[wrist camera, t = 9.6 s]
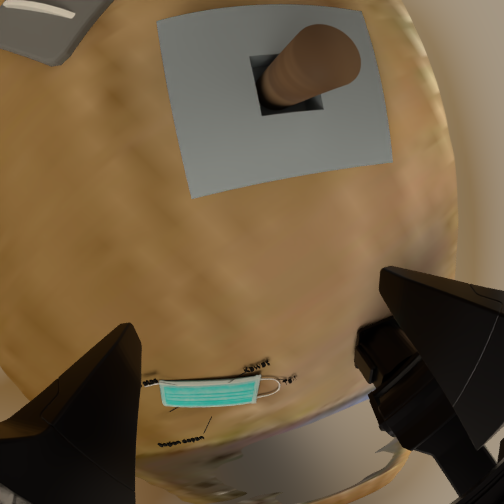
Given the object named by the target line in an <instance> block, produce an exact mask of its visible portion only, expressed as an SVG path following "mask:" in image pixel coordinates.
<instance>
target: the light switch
mask: <svg viewBox="0 0 504 504" xmlns="http://www.w3.org/2000/svg"><path fill="white" fill-rule="evenodd" d="M113 1H114V0H5V1H4V3H3V4H2V5H1V7H0V49H3V50H7V51H10V52H13V53H16V54H19V55H22V56H25V57H27V58H30V59H33V60H36V61H38V62H41V63H44V64H46V65H49V66H51V67H52V66H58V65H62V64H63V63H64V62H65V61H66V60H67V59H68V58H69V57H70V56H71V55H72V53H73V52H74V50H75V49H76V47H77V46H78V44H79V43H80V42H81V40H82V39H83V37H84V36H85V35H86V33H87V32H88V31H89V29H90V28H91V27H92V26H93V24H94V23H95V22H96V21H97V19H98V18H99V17H100V16H101V14H102V13H103V12H104V11H105V10H106V9H107V7H108V6H109V5H110V4H111V3H112V2H113Z"/></svg>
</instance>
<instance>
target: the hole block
mask: <svg viewBox="0 0 504 504" xmlns="http://www.w3.org/2000/svg"><path fill="white" fill-rule="evenodd" d="M314 24H325V25H329V26H332V27H335V28H337V29H339V30H341V31H342V32H344V33H345V34H346V35H347V36H348V37H349V38H350V39H351V40H352V41H353V42H354V44H355V45H356V47H357V49H358V51H359V54H360V58H361V68H360V72H359V74H358V76H357V78H356V79H355V80H354V81H352V82H351V83H349V84H347V85H345V86H342V87H339V88H336V89H333V90H331V91H328V92H325V93H322V94H320V95H317V96H315V97H312V98H309V99H307V100H304V101H302V102H300V103H297V104H295V105H292V106H290V107H288V108H285V109H283V110H270V109H268V108H266V107H264V106H263V105H261V104H260V103H259V100H258V95H257V90H256V86H255V83H256V81H257V80H258V78H259V77H260V76H261V75H262V74H263V72H264V71H265V70H266V69H267V68H268V66H269V65H270V64H271V63H272V62H273V61H274V59H275V58H276V57H277V56H278V55H279V54H280V53H281V51H282V50H283V49H284V48H285V47H286V46H287V45H288V44H289V43H290V42H291V40H292V39H293V38H294V37H295V36H296V35H297V34H298V33H299V32H300V31H301V30H302V29H304V28H305V27H307V26H310V25H314ZM157 28H158V35H159V42H160V48H161V54H162V60H163V66H164V72H165V77H166V83H167V88H168V93H169V98H170V104H171V109H172V114H173V118H174V123H175V128H176V133H177V137H178V142H179V147H180V151H181V156H182V160H183V164H184V169H185V173H186V177H187V181H188V185H189V190H190V194H191V198H192V199H194V198H198V197H202V196H206V195H210V194H214V193H219V192H223V191H227V190H232V189H236V188H241V187H245V186H250V185H255V184H260V183H264V182H269V181H275V180H280V179H285V178H290V177H296V176H301V175H307V174H313V173H319V172H325V171H332V170H338V169H345V168H352V167H359V166H367V165H375V164H383V163H392V162H393V160H392V149H391V140H390V132H389V125H388V118H387V111H386V105H385V100H384V94H383V89H382V84H381V79H380V75H379V70H378V66H377V62H376V58H375V54H374V50H373V47H372V43H371V40H370V36H369V33H368V30H367V27H366V23H365V20H364V17H363V15H362V12H361V11H356V10H349V9H343V8H335V7H325V6H313V5H292V4H269V5H248V6H236V7H227V8H219V9H212V10H205V11H199V12H194V13H189V14H184V15H179V16H175V17H171V18H167V19H163V20H159V21H157Z"/></svg>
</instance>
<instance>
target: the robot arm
mask: <svg viewBox="0 0 504 504" xmlns="http://www.w3.org/2000/svg"><path fill="white" fill-rule="evenodd" d="M379 292H380V294H381V296H382V298H383V299H384V301H385V303H386V304H387V306H388V308H389V309H390V311H391V313H392V315H393V316H391V317H389V318H387V319H384V320H382V321H379V322H377V323H374V324H372V325H369V326H366V327H364V328H361V329H360V330H359V331H358V333H357V345H356V348H355V357H354V362H355V367H356V368H357V369H358V368H359V370H360V371H361V373H362V374H363V376H364V378H365V379H366V381H367V382H368V383H369V384H371V383H373V384H374V386H375V387H376V389H375V390H374V391H373V392H370V393H369V394H368V397H369V399H370V404H371V406H372V408H373V411H374V413H375V416H376V418H377V420H378V424H379V428H380V430H381V431H386V432H387V433H388V434H389V435H390V436H392V437H397V439H398V440H399V442H400V444H401V446H402V447H403V448H406V449H408V450H410V451H413V450H416V451H419V452H422V453H425V454H428V455H431V456H433V458H434V459H435V460H436V462H437V463H438V465H439V466H440V468H441V469H442V471H443V473H444V474H445V476H446V477H447V479H448V480H449V481H450V483H451V485H452V486H453V488H454V489H455V491H456V492H457V494H458V495H459V498H457V499H456V500H455V501H454V502H452V503H451V504H504V438H503V439H502V440H501V441H500V449H499V455H498V462H496V460H495V459H494V457H493V456H492V454H491V453H490V452H489V450H488V449H487V447H486V446H485V445H484V444H485V443H487V442H488V441H489V440H490V439H491V438H492V437H493V436H494V435H495V434H496V433H497V432H498V431H499V430H500V429H501V428H502V427H503V426H504V291H502V290H496V289H491V288H486V287H482V286H477V285H473V284H468V283H464V282H460V281H456V280H452V279H447V278H443V277H439V276H434V275H430V274H426V273H421V272H417V271H412V270H408V269H403V268H399V267H394V266H388V267H384V268H382V269H381V271H380V281H379ZM141 353H142V346H141V341H140V339H139V337H138V335H137V333H136V331H135V328H134V326H133V325H132V324H131V323H123V324H120V325H118V326H117V327H116V328H115V329H114V330H112V331H111V332H110V333H109V334H108V335H107V336H105V337H104V338H103V339H102V340H101V341H100V342H98V343H97V344H96V345H95V346H94V347H93V348H91V349H90V350H89V351H88V352H87V353H86V354H85V355H83V356H82V357H81V358H80V359H79V360H78V361H77V362H75V363H74V364H73V365H72V366H71V367H70V368H69V369H67V370H66V371H65V372H64V373H63V374H62V375H61V376H60V377H59V378H58V379H56V380H55V381H54V382H53V383H52V384H51V385H49V386H48V387H47V388H46V389H45V390H44V391H43V392H41V393H40V394H39V395H38V396H36V397H35V398H34V399H33V400H32V401H30V402H29V403H28V404H26V405H25V406H24V407H23V408H21V409H20V410H19V411H18V412H16V413H15V414H14V415H13V416H11V417H10V418H8V419H7V420H5V421H2V422H0V504H135V492H134V491H135V455H136V435H137V421H138V409H139V398H140V389H141Z"/></svg>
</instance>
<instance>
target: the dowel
mask: <svg viewBox="0 0 504 504" xmlns="http://www.w3.org/2000/svg"><path fill="white" fill-rule="evenodd" d="M360 68H361V58H360V54H359V51H358V49H357V47H356V45H355V44H354V42H353V41H352V40H351V39H350V38H349V37H348V36H347V35H346V34H345V33H344V32H342V31H341V30H339V29H337V28H335V27H332V26H329V25H325V24H314V25H310V26H307V27H305V28H304V29H302V30H301V31H300V32H299V33H298V34H297V35H296V36H295V37H294V38H293V39H292V40H291V42H290V43H289V44H288V45H287V46H286V47H285V48H284V49H283V50H282V51H281V53H280V54H279V55H278V56H277V57H276V58H275V59H274V61H273V62H272V63H271V64H270V65H269V66H268V68H267V69H266V70H265V71H264V72H263V74H262V75H261V76H260V77H259V78H258V80H257V81H256V83H255V86H256V90H257V95H258V100H259V103H260V104H261V105H263V106H264V107H266V108H268V109H270V110H283V109H285V108H288V107H290V106H292V105H295V104H297V103H300V102H302V101H304V100H307V99H309V98H312V97H315V96H317V95H320V94H322V93H325V92H328V91H331V90H333V89H336V88H339V87H342V86H345V85H347V84H349V83H351V82H352V81H354V80H355V79H356V78H357V76H358V74H359V72H360Z"/></svg>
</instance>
